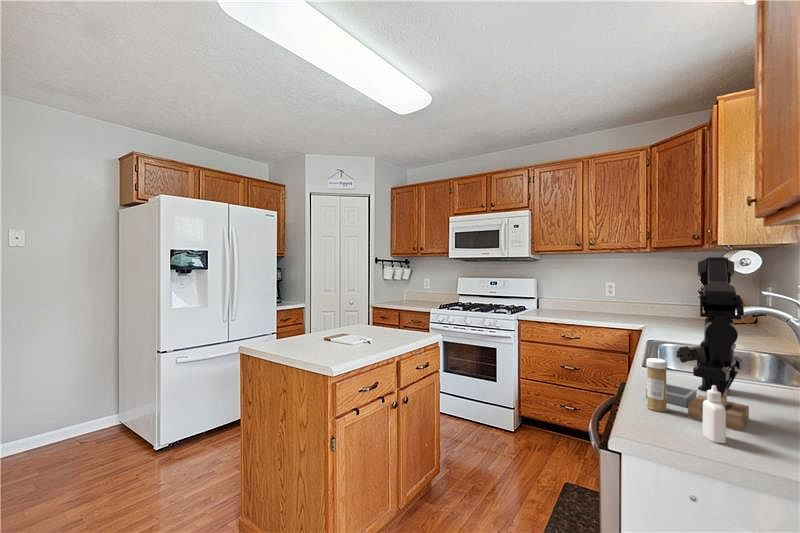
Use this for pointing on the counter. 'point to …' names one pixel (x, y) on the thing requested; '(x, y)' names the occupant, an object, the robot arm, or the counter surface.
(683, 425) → the counter surface
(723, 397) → the beige wooden peg
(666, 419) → the counter surface
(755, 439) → the counter surface
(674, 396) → the gray square tray
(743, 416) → the brown square frame
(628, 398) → the counter surface
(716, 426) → the eye dropper bottle
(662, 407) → the sprinkles bottle
